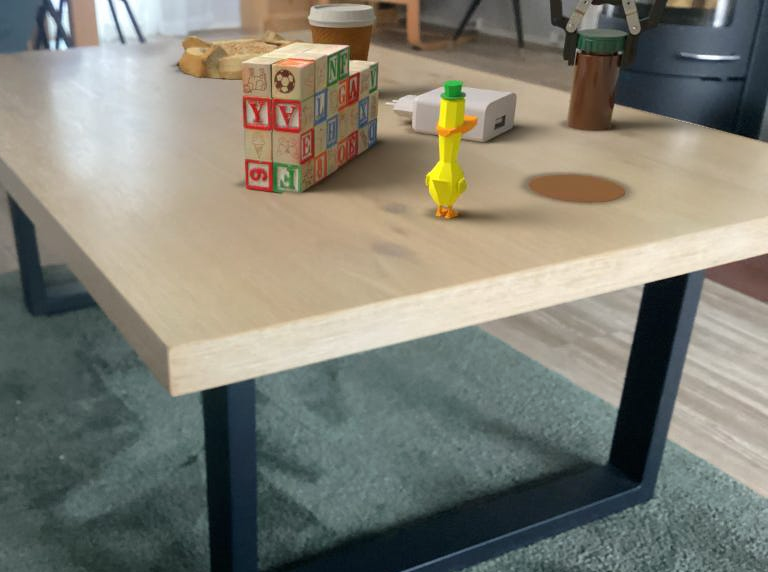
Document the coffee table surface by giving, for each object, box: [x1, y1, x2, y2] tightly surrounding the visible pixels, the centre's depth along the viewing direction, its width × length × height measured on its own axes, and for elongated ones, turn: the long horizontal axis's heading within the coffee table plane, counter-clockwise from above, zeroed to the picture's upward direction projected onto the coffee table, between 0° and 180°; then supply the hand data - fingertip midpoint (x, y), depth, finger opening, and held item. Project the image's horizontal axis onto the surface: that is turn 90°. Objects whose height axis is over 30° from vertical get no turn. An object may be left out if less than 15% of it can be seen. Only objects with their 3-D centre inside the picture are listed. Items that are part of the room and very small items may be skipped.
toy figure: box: [425, 80, 478, 219], centre depth 75 cm, size 7×4×12 cm, turn 142°
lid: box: [576, 28, 627, 53], centre depth 102 cm, size 6×6×2 cm
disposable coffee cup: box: [307, 3, 377, 61], centre depth 122 cm, size 10×10×12 cm
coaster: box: [528, 174, 626, 204], centre depth 84 cm, size 9×9×1 cm
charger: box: [384, 85, 518, 143], centre depth 106 cm, size 5×9×15 cm
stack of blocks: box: [241, 42, 379, 194], centre depth 90 cm, size 21×6×12 cm, turn 155°
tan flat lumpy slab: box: [175, 29, 307, 80], centre depth 146 cm, size 24×24×5 cm
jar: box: [566, 49, 623, 132], centre depth 104 cm, size 5×5×10 cm
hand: (597, 65), depth 103 cm, fingers closed on lid, 5 cm apart
